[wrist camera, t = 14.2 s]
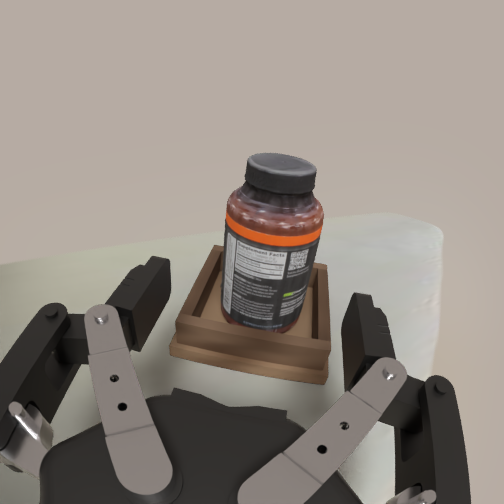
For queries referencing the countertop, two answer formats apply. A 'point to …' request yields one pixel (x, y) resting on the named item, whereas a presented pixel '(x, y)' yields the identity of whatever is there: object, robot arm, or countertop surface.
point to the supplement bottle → (270, 243)
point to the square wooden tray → (254, 331)
